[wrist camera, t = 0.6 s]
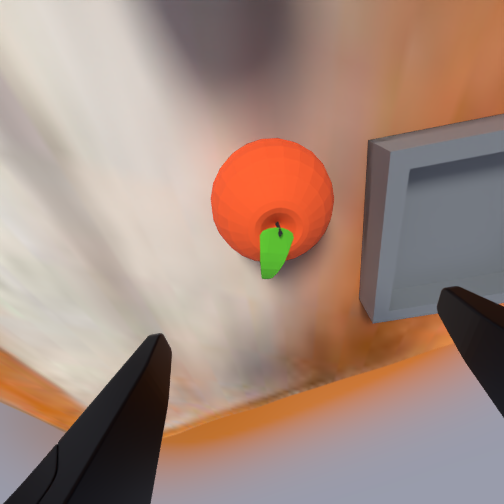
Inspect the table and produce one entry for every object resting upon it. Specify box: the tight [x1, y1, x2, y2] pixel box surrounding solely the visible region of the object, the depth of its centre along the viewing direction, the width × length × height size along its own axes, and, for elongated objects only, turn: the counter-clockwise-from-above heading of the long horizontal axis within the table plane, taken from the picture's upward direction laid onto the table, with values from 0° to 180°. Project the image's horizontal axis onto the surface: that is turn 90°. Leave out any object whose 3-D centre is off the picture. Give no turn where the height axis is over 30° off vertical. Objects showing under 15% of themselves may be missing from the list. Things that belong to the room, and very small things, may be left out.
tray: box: [359, 114, 504, 323], centre depth 20 cm, size 14×14×3 cm
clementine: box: [211, 138, 334, 279], centre depth 16 cm, size 8×7×7 cm
